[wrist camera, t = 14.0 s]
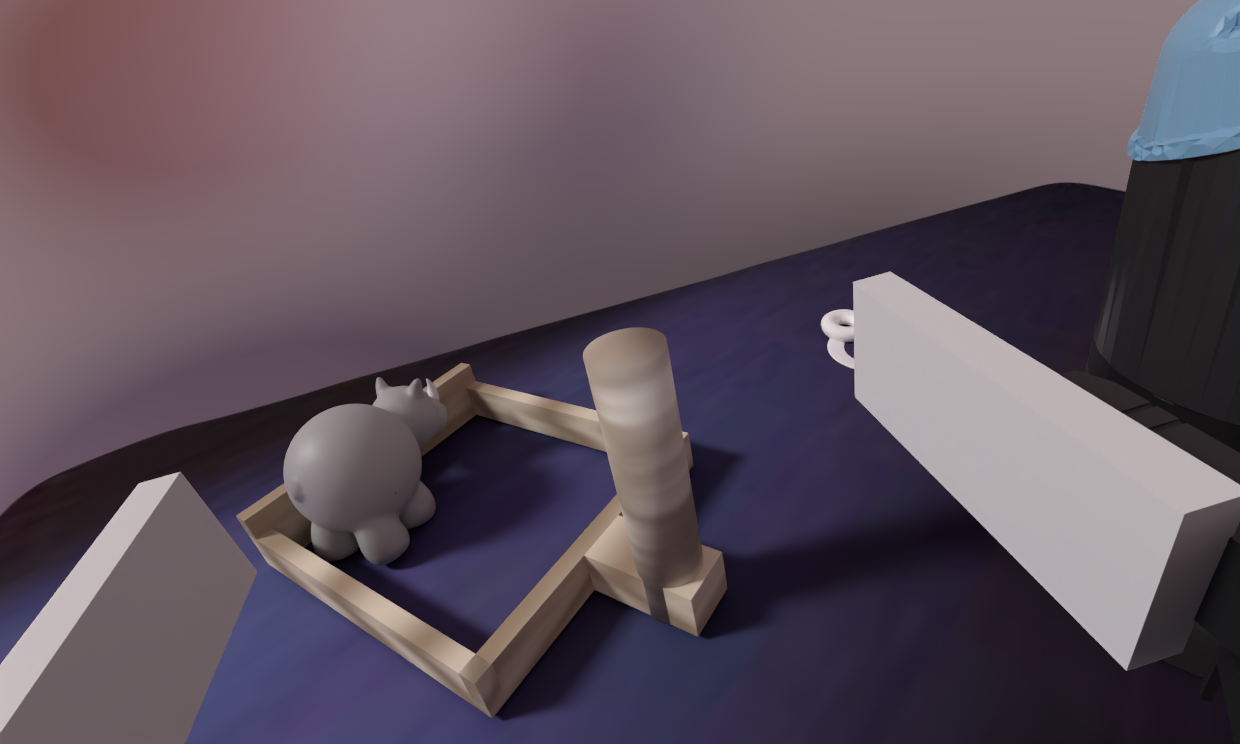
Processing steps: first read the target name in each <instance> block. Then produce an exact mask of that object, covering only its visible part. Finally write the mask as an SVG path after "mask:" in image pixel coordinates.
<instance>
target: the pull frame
mask: <svg viewBox="0 0 1240 744" xmlns="http://www.w3.org/2000/svg"><path fill="white" fill-rule="evenodd" d="M583 359H584V363H585V367H586V371H587V375H588V379H589V383H590V387H591V391H592V395H593V399H594V403H595V407H596V410H592V409H587V408H583V407H579V406H575V405H571V404H567V403H563V402H559V401H555V400H550V399H546V398H542V397H538V396H534V395H530V394H526V393H522V392H517V391H513V390H509V389H505V388H501V387H497V386H493V385H489V384H485V383H480V382H476V381H475V378H474V375H473V372H472V369H471V367H470V365H468V364H464V363H460V364H459V365H458V366H456V367H455V368H453V369H452V370H450V371H449V372H447V373H446V374H444V375H443V376H441V377H440V378H438V379H437V380H435V381H434V382H433V384H434V385H435V387H436V388H437V391H438V394H439V401H440V403H441V404H443V405H445V407H446V409H447V424H446V426H445V428H444V429H443V431H442V432H441V433H440V434H438V435H436V436H434V437H433V438H432V439H431V440H430V441H429V442H428V443H427V444H426V445H425V446H423V447H422V448H420V452H421V457H422V456H423V455H425V454H426V453H427V452H429V451H430V450H431V449H432V448H434V447H435V446H436V445H438V444H439V443H440V442H441V441H443V440H444V439H445V438H447V437H448V436H449V435H451V434H452V433H453V432H454V431H456V430H457V429H458V428H460V427H461V426H462V425H463V424H465V423H466V422H467V421H469V420H470V419H471V418H473V417H474V416H475V415H479V416H483V417H486V418H490V419H493V420H497V421H500V422H504V423H507V424H511V425H514V426H518V427H521V428H524V429H528V430H531V431H535V432H538V433H542V434H545V435H549V436H552V437H556V438H559V439H563V440H566V441H570V442H573V443H576V444H580V445H583V446H587V447H590V448H594V449H597V450H601V451H604V452H607V455H608V459H609V463H610V467H611V471H612V475H613V479H614V483H615V487H616V491H617V495H616V496H615V497H614V498H613V499H612V500H611V501H610V503H609V504H608V505H607V506H606V507H605V508H604V509H603V510H602V512H601V513H600V514H599V515H598V516H597V517H596V518H595V520H594V521H593V522H592V523H591V524H590V525H589V526H588V527H587V529H586V530H585V531H584V532H583V533H582V534H581V535H580V536H579V538H578V539H577V540H576V541H575V542H574V543H573V544H572V546H571V547H570V548H569V549H568V550H567V551H566V552H565V553H564V555H563V556H562V557H561V558H560V559H559V560H558V561H557V562H556V564H555V565H554V566H553V567H552V568H551V569H550V570H549V572H548V573H547V574H546V575H545V576H544V577H543V578H542V579H541V581H540V582H539V583H538V584H537V585H536V586H535V587H534V588H533V590H532V591H531V592H530V593H529V594H528V595H527V596H526V598H525V599H524V600H523V601H522V602H521V603H520V604H519V605H518V607H517V608H516V609H515V610H514V611H513V612H512V613H511V614H510V616H509V617H508V618H507V619H506V620H505V621H504V622H503V624H502V625H501V626H500V627H499V628H498V629H497V630H496V631H495V633H494V634H493V635H492V636H491V637H490V638H489V639H488V640H487V642H486V643H485V644H484V645H483V646H482V647H481V648H480V650H479V651H478V652H477V653H476V654H475V653H473V652H472V651H470V650H468V649H467V648H465V647H463V646H462V645H460V644H459V643H457V642H455V641H454V640H452V639H450V638H449V637H447V636H446V635H444V634H442V633H441V632H439V631H438V630H436V629H434V628H433V627H431V626H429V625H428V624H426V623H425V622H423V621H421V620H420V619H418V618H417V617H415V616H413V615H412V614H410V613H408V612H407V611H405V610H404V609H402V608H400V607H399V606H397V605H396V604H394V603H392V602H391V601H389V600H387V599H386V598H384V597H383V596H381V595H379V594H378V593H376V592H374V591H373V590H371V589H370V588H368V587H366V586H365V585H363V584H362V583H360V582H358V581H357V580H355V579H353V578H352V577H350V576H349V575H347V574H345V573H344V572H342V571H341V570H339V569H337V568H336V567H334V566H332V565H331V564H329V563H328V562H326V561H324V560H323V559H321V558H320V557H318V556H316V555H315V554H313V553H311V552H310V551H308V550H307V549H305V548H304V547H306V546H307V545H308V544H309V543H311V542H312V539H311V524H312V522H311V521H310V520H308V519H307V518H306V517H304V516H303V515H302V514H301V513H300V512H299V511H298V510H297V508H296V507H295V506H294V504H293V503H292V501H291V500H290V498H289V496H288V493H287V490H286V487H285V483H284V484H282V485H281V486H280V487H278V488H277V489H275V490H274V491H272V492H271V493H269V494H268V495H266V496H265V497H263V498H262V499H260V500H259V501H257V502H256V503H255V504H253V505H252V506H250V507H249V508H247V509H246V510H244V511H243V512H241V513H240V514H238V515H237V516H236V517H237V518H238V520H239V521H240V523H241V524H242V526H243V527H244V529H245V530H246V532H247V533H248V535H249V536H250V538H251V539H252V541H253V542H254V543H255V545H256V546H257V548H258V549H259V551H260V552H261V554H262V555H263V557H264V558H265V560H266V561H267V563H268V564H269V565H271V566H272V567H274V568H275V569H277V570H278V571H279V572H281V573H282V574H284V575H285V576H287V577H288V578H290V579H291V580H292V581H294V582H295V583H297V584H298V585H300V586H301V587H303V588H304V589H306V590H307V591H308V592H310V593H311V594H313V595H314V596H316V597H317V598H319V599H320V600H321V601H323V602H324V603H326V604H327V605H329V606H330V607H332V608H333V609H334V610H336V611H337V612H339V613H340V614H342V615H343V616H345V617H346V618H347V619H349V620H350V621H352V622H353V623H355V624H356V625H358V626H359V627H360V628H362V629H363V630H365V631H366V632H368V633H369V634H371V635H372V636H373V637H375V638H376V639H378V640H379V641H381V642H382V643H384V644H385V645H386V646H388V647H389V648H391V649H392V650H394V651H395V652H397V653H398V654H399V655H401V656H402V657H404V658H405V659H407V660H408V661H410V662H411V663H413V664H414V665H415V666H417V667H418V668H420V669H421V670H423V671H424V672H426V673H427V674H428V675H430V676H431V677H433V678H434V679H436V680H437V681H439V682H440V683H441V684H443V685H444V686H446V687H447V688H449V689H450V690H452V691H453V692H454V693H456V694H457V695H459V696H460V697H462V698H463V699H465V700H466V701H467V702H469V703H470V704H472V705H473V706H475V707H476V708H478V709H479V710H480V711H482V712H483V713H485V714H486V715H488V716H489V717H491V718H493V717H494V716H495V714H496V713H497V712H498V711H499V709H500V708H501V707H502V706H503V704H504V703H505V702H506V701H507V699H508V698H509V697H510V696H511V694H512V693H513V692H514V691H515V689H516V688H517V687H518V685H519V684H520V683H521V682H522V680H523V679H524V678H525V677H526V675H527V674H528V673H529V672H530V670H531V669H532V668H533V667H534V665H535V664H536V663H537V662H538V660H539V659H540V658H541V657H542V655H543V654H544V653H545V652H546V650H547V649H548V648H549V646H550V645H551V644H552V643H553V641H554V640H555V639H556V638H557V636H558V635H559V634H560V633H561V631H562V630H563V629H564V628H565V626H566V625H567V624H568V623H569V621H570V620H571V619H572V618H573V616H574V615H575V614H576V612H577V611H578V610H579V609H580V607H581V606H582V605H583V604H584V602H585V601H586V600H587V599H588V597H589V596H590V595H591V594H592V592H593V591H594V590H596V591H599V592H601V593H603V594H605V595H607V596H610V597H612V598H614V599H616V600H618V601H620V602H623V603H625V604H627V605H629V606H631V607H634V608H636V609H638V610H640V611H642V612H645V613H647V614H649V615H651V616H652V617H653V618H655V619H656V620H658V621H660V622H662V623H666V624H671V625H673V626H675V627H678V628H680V629H682V630H684V631H686V632H689V633H691V634H693V635H695V636H697V637H698V636H699V635H700V633H701V631H702V630H703V628H704V626H705V625H706V623H707V621H708V620H709V618H710V616H711V615H712V613H713V611H714V610H715V608H716V606H717V605H718V603H719V601H720V600H721V598H722V596H723V595H724V593H725V591H726V590H727V582H726V575H725V568H724V561H723V554H722V552H721V551H718V550H715V549H712V548H709V547H707V546H704V545H701V540H700V534H699V528H698V522H697V517H696V511H695V505H694V499H693V493H692V487H691V481H690V475H689V470H690V469H691V468H692V466H693V459H692V452H691V446H690V440H689V434H688V433H686V432H682V428H681V422H680V416H679V410H678V404H677V398H676V393H675V387H674V381H673V375H672V369H671V363H670V357H669V351H668V345H667V340H666V337H665V336H664V335H663V334H662V333H661V332H659V331H657V330H654V329H649V328H626V329H621V330H617V331H613V332H610V333H607V334H605V335H602V336H600V337H599V338H597V339H595V340H594V341H592V342H591V343H590V344H589V345H588V346H587V347H586V349H585V350H584V353H583ZM423 391H425V392H427V387H425V388H424V389H423Z"/></svg>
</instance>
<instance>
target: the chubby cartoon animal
mask: <svg viewBox="0 0 1240 744" xmlns="http://www.w3.org/2000/svg"><path fill="white" fill-rule="evenodd" d="M426 381H427V392H425V391H423V389H422V384H421V381H420V379H415V380H414V381H413V382H412V383H411V385H410V386H398V387H390V386H388V385H387V384H386V383H385V382H384V380H383V379H382V378H380V377H378V378H377V380H376V393H377V399H376V401H375V402H374V404H373V406H371V405H365V404H347V405H341V406H337V407H333V408H331V409H328V410H326V411H324V412H322V413H320V414H318V415H316V416H315V417H313V418H312V419H311V420H309V421H308V422H307V423H306V424H305V425H304V426H303V427H302V428H301V429H300V430H299V431H298V432H297V434H296V435H295V437H294V438H293V440H292V441H291V443H290V445H289V448H288V450H287V453H286V457H285V461H284V482H285V487H286V490H287V493H288V496H289V498H290V500H291V501H292V503H293V504H294V506H295V507H296V508H297V510H298V511H299V512H300V513H301V514H302V515H303V516H304V517H306V518H307V519H308V520H310V521H311V522H312V524H311V539H312V544H313V547H314V549H315V552H316V553H317V555H318V556H319V557H320V558H321V559H323V560H324V561H337V560H341V559H344V558H346V557H348V556H350V555H352V554H353V553H355V552H356V551H357V550H358V548H359V547H360V550H361V552H362V553H363V555H364V556H365V558H366V559H367V560H368V561H370V562H371V563H373V564H375V565H385V564H388V563H390V562H392V561H394V560H395V559H397V558H398V557H399V556H401V555H402V554H403V553H404V552H405V550H406V549H407V547H408V545H409V541H410V538H409V533H408V531H407V529H410V528H414V527H417V526H420V525H422V524H424V523H425V522H427V521H428V520H429V519H430V518H431V517H432V516H433V515H434V512H435V508H436V505H435V500H434V497H433V495H432V494H431V492H430V491H429V489H428V488H427V487H426V486H425V485H424V484H423V483H422V482H421V481H420V476H421V469H422V459H421V452H420V448H422V447H423V446H425V445H426V444H427V443H428V442H429V441H430V440H431V439H432V438H433V437H434V436H436V435H438V434H440V433H441V432H442V431H443V429H444V428H445V426H446V424H447V409H446V407H445V405H443V404H441V403H440V401H439V394H438V391H437V388H436V387H435V385H434V384H433V383H432V382H431V381H430V380H428V379H426Z"/></svg>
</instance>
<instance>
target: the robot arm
mask: <svg viewBox="0 0 1240 744" xmlns="http://www.w3.org/2000/svg"><path fill="white" fill-rule="evenodd" d="M1127 155H1128V156H1131V158H1132V159H1133V162H1132V166H1131V171H1130V175H1129V180H1128V184H1127V189H1126V193H1125V198H1124V203H1123V207H1122V212H1121V216H1120V221H1119V225H1118V230H1117V234H1116V239H1115V243H1114V248H1113V252H1112V256H1111V260H1110V264H1109V269H1108V273H1107V277H1106V281H1105V285H1104V290H1103V294H1102V298H1101V302H1100V306H1099V311H1098V315H1097V319H1096V323H1095V327H1094V334H1093V338H1092V343H1091V347H1090V351H1089V356H1088V359H1087V363H1086V367H1085V370H1084V372H1080V371H1077V370H1073V371H1070V372H1066V373H1063V374H1057V373H1056V372H1054V371H1052V370H1051V369H1049V368H1048V367H1046V366H1044V365H1043V364H1041V363H1039V362H1038V361H1036V360H1034V359H1033V358H1031V357H1029V356H1028V355H1026V354H1025V353H1023V352H1021V351H1020V350H1018V349H1016V348H1015V347H1013V346H1011V345H1010V344H1008V343H1006V342H1005V341H1003V340H1002V339H1000V338H998V337H997V336H995V335H993V334H992V333H990V332H988V331H987V330H985V329H984V328H982V327H980V326H979V325H977V324H975V323H974V322H972V321H970V320H969V319H967V318H965V317H964V316H962V315H961V314H959V313H957V312H956V311H954V310H952V309H951V308H949V307H947V306H946V305H944V304H943V303H941V302H939V301H938V300H936V299H934V298H933V297H931V296H929V295H928V294H926V293H924V292H923V291H921V290H920V289H918V288H916V287H915V286H913V285H911V284H910V283H908V282H906V281H905V280H903V279H901V278H900V277H898V276H897V275H895V274H893V273H892V272H887V273H883V274H880V275H876V276H873V277H869V278H866V279H862V280H859V281H855V282H853V296H854V368H855V397H856V398H857V399H858V400H859V401H860V402H861V403H862V404H863V405H864V406H865V408H866V409H867V410H868V411H869V412H870V413H871V414H872V415H873V416H874V417H875V418H876V419H877V420H878V421H879V422H880V423H881V424H882V425H883V426H884V427H885V428H886V429H887V430H888V431H889V432H890V433H891V434H892V435H893V436H894V437H895V438H896V439H897V440H898V441H899V442H900V443H901V444H902V445H903V446H904V447H905V448H906V449H907V450H908V451H909V452H910V453H911V454H912V455H913V456H914V457H915V458H916V459H917V460H918V461H919V462H920V463H921V464H922V465H923V466H924V467H925V468H926V469H927V470H928V471H929V472H930V473H931V474H932V475H933V476H934V477H935V478H936V479H937V480H938V481H939V482H940V483H941V484H942V485H943V486H944V487H945V488H946V489H947V490H948V491H949V492H950V493H951V494H952V495H953V496H954V497H955V498H956V499H957V500H958V501H959V502H960V503H961V504H962V505H963V506H964V507H965V508H966V509H967V510H968V511H969V512H970V513H971V514H972V515H973V516H974V517H975V519H976V520H977V521H978V522H979V523H980V524H981V525H982V526H983V527H984V528H985V529H986V530H987V531H988V532H989V533H990V534H991V535H992V536H993V537H994V538H995V539H996V540H997V541H998V542H999V543H1000V544H1001V545H1002V546H1003V547H1004V548H1005V549H1006V550H1007V551H1008V552H1009V553H1010V554H1011V555H1012V556H1013V557H1014V558H1015V559H1016V560H1017V561H1018V562H1019V563H1020V564H1021V565H1022V566H1023V567H1024V568H1025V569H1026V570H1027V571H1028V572H1029V573H1030V574H1031V575H1032V576H1033V577H1034V578H1035V579H1036V580H1037V581H1038V582H1039V583H1040V584H1041V585H1042V586H1043V587H1044V588H1045V589H1046V590H1047V591H1048V592H1049V593H1050V594H1051V595H1052V596H1053V597H1054V598H1055V599H1056V600H1057V601H1058V602H1059V603H1060V604H1061V605H1062V606H1063V607H1064V608H1065V609H1066V610H1067V611H1068V612H1069V613H1070V614H1071V615H1072V616H1073V617H1074V618H1075V619H1076V620H1077V621H1078V622H1079V623H1080V624H1081V625H1082V626H1083V627H1084V628H1085V630H1086V631H1087V632H1088V633H1089V634H1090V635H1091V636H1092V637H1093V638H1094V639H1095V640H1096V641H1097V642H1098V643H1099V644H1100V645H1101V646H1102V647H1103V648H1104V649H1105V650H1106V651H1107V652H1108V653H1109V654H1110V655H1111V656H1112V657H1113V658H1114V659H1115V660H1116V661H1117V662H1118V663H1119V664H1120V665H1121V666H1122V667H1123V668H1124V669H1125V670H1126V671H1127V670H1131V669H1134V668H1137V667H1140V666H1143V665H1146V664H1149V663H1152V662H1155V661H1158V660H1162V661H1165V662H1167V663H1169V664H1171V665H1173V666H1176V667H1178V668H1180V669H1182V670H1185V671H1187V672H1189V673H1192V674H1195V675H1197V676H1200V677H1202V678H1204V679H1203V681H1202V683H1201V688H1200V696H1199V699H1201V700H1205V701H1208V702H1212V700H1213V698H1214V696H1215V694H1216V692H1217V690H1218V688H1219V686H1220V684H1221V685H1222V690H1223V694H1224V699H1225V704H1226V708H1227V713H1228V717H1229V722H1230V727H1231V731H1232V736H1233V740H1234V744H1240V0H1199V1H1198V2H1197V3H1195V4H1194V5H1193V6H1192V7H1191V8H1190V9H1189V10H1188V11H1187V12H1186V13H1184V15H1183V16H1182V17H1181V18H1180V19H1179V20H1178V22H1177V23H1176V24H1175V25H1174V27H1173V28H1172V30H1171V31H1170V33H1169V35H1168V36H1167V38H1166V40H1165V43H1164V45H1163V47H1162V50H1161V53H1160V56H1159V60H1158V63H1157V67H1156V70H1155V74H1154V77H1153V81H1152V84H1151V88H1150V91H1149V95H1148V98H1147V102H1146V105H1145V108H1144V112H1143V115H1142V119H1141V122H1140V125H1139V128H1138V129H1137V130H1136V131H1135V132H1134V133H1133V134H1132V136H1131V137H1130V139H1129V142H1128V150H1127ZM256 574H257V570H256V569H255V568H254V567H253V565H252V564H251V563H250V561H249V560H248V559H247V557H246V556H245V555H244V554H243V552H242V551H241V550H240V548H239V547H238V546H237V544H236V543H235V542H234V541H233V539H232V538H231V537H230V535H229V534H228V533H227V531H226V530H225V529H224V528H223V526H222V525H221V524H220V522H219V521H218V520H217V519H216V517H215V516H214V515H213V513H212V512H211V511H210V509H209V508H208V507H207V506H206V504H205V503H204V502H203V500H202V499H201V498H200V496H199V495H198V494H197V493H196V491H195V490H194V489H193V487H192V486H191V485H190V483H189V482H188V481H187V480H186V478H185V477H184V476H183V474H182V473H181V472H178V473H174V474H171V475H167V476H164V477H160V478H157V479H153V480H149V481H146V482H142V483H139V484H138V485H137V486H136V488H135V489H134V490H133V492H132V493H131V494H130V496H129V497H128V498H127V499H126V501H125V502H124V503H123V505H122V506H121V507H120V509H119V510H118V511H117V513H116V514H115V515H114V517H113V518H112V519H111V520H110V522H109V523H108V524H107V526H106V527H105V528H104V530H103V531H102V532H101V534H100V535H99V536H98V537H97V539H96V540H95V541H94V543H93V544H92V545H91V547H90V548H89V549H88V551H87V552H86V553H85V554H84V556H83V557H82V558H81V560H80V561H79V562H78V564H77V565H76V566H75V568H74V569H73V570H72V572H71V573H70V574H69V575H68V577H67V578H66V579H65V581H64V582H63V583H62V585H61V586H60V587H59V589H58V590H57V591H56V592H55V594H54V595H53V596H52V598H51V599H50V600H49V602H48V603H47V604H46V606H45V607H44V608H43V609H42V611H41V612H40V613H39V615H38V616H37V617H36V619H35V620H34V621H33V623H32V624H31V625H30V627H29V628H28V629H27V630H26V632H25V633H24V634H23V636H22V637H21V638H20V640H19V641H18V642H17V644H16V645H15V646H14V647H13V649H12V650H11V651H10V653H9V654H8V655H7V657H6V658H5V659H4V661H3V662H2V663H1V664H0V744H185V742H186V740H187V737H188V735H189V733H190V730H191V728H192V725H193V723H194V721H195V718H196V716H197V714H198V711H199V709H200V706H201V704H202V702H203V699H204V697H205V695H206V692H207V690H208V688H209V685H210V683H211V680H212V678H213V676H214V673H215V671H216V669H217V666H218V664H219V662H220V659H221V657H222V654H223V652H224V650H225V647H226V645H227V643H228V640H229V638H230V635H231V633H232V631H233V628H234V626H235V624H236V621H237V619H238V617H239V614H240V612H241V609H242V607H243V605H244V602H245V600H246V598H247V595H248V593H249V590H250V588H251V586H252V583H253V581H254V579H255V576H256Z"/></svg>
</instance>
